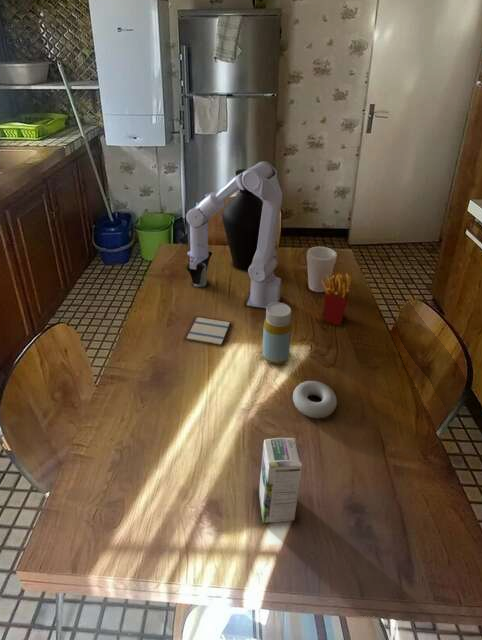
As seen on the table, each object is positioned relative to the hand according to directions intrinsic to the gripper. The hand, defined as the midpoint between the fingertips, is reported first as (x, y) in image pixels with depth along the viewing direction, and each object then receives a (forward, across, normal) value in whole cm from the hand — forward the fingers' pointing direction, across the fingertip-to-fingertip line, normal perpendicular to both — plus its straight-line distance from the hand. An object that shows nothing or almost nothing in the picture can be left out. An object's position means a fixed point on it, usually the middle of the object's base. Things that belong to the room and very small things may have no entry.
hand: (199, 277), depth 147 cm
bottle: (+2, +30, +30) cm, 42 cm away
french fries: (+2, +8, +44) cm, 45 cm away
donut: (+2, +44, +41) cm, 60 cm away
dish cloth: (+2, +24, +10) cm, 26 cm away
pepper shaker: (+2, 0, 0) cm, 2 cm away
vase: (+2, -17, +12) cm, 21 cm away
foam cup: (+2, -8, +39) cm, 40 cm away
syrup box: (+2, +70, +36) cm, 79 cm away
